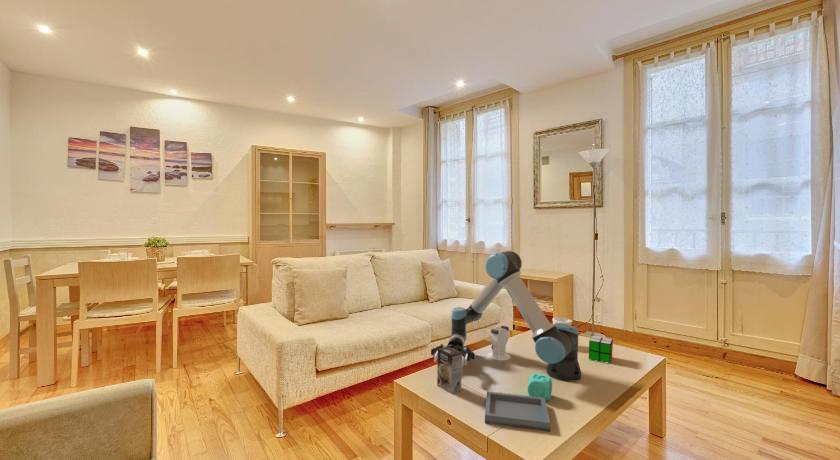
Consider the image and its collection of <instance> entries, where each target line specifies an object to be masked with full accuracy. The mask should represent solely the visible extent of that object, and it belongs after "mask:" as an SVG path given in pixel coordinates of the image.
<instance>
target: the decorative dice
mask: <svg viewBox="0 0 840 460" xmlns="http://www.w3.org/2000/svg"><path fill="white" fill-rule="evenodd" d="M552 391H553V380H552V379H551V376H548V374H547V375H546V374H543V373H535V372H534V373H532V374H531V375H529V378H528V383H527V394H528V396H533V397H542V398H545V402H547V401H549V400H551V397H552Z"/></svg>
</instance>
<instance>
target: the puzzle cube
mask: <svg viewBox="0 0 840 460" xmlns="http://www.w3.org/2000/svg"><path fill="white" fill-rule="evenodd" d="M613 340H614V339H613V338H609V337H604V336H603V337H602V336H597V335H592V336H591V337H590V338H589V341H588V343H589V344H588V360H589V359H592V360H591V361H594V360H597V361H596V362H600V361H603V362H602V363H604V362H608V363H607V364H609V363H610V362H611V363H612V360H611V359H613V349H614V348H613V347H614V346H613V345H614V341H613ZM611 363H610V364H611Z"/></svg>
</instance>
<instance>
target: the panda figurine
mask: <svg viewBox="0 0 840 460" xmlns="http://www.w3.org/2000/svg"><path fill="white" fill-rule="evenodd" d="M509 330H510V329H509V326H506V325H501V326H500V327H499V326H498V327H495V328H491V330H490V333H491V336H490V343H491V350H492V351H491V352H489V353H488V354H487V356H488V358H489V359H491V360H494V361H501V362H505V361H508V360H510V359H511V355H510V354H508V353H506V349H507V347H506V346H507V344H508V341H509V337H510V336H509Z"/></svg>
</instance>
